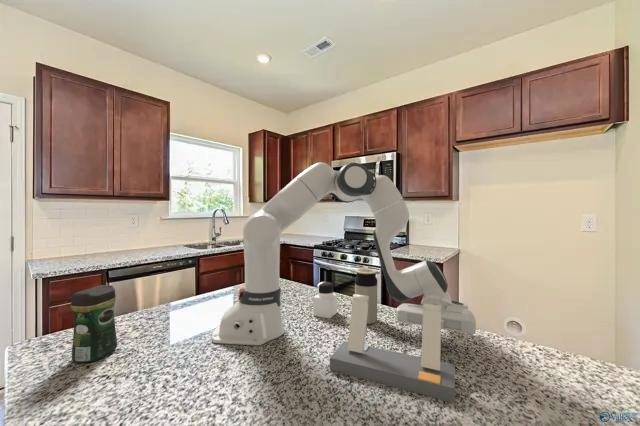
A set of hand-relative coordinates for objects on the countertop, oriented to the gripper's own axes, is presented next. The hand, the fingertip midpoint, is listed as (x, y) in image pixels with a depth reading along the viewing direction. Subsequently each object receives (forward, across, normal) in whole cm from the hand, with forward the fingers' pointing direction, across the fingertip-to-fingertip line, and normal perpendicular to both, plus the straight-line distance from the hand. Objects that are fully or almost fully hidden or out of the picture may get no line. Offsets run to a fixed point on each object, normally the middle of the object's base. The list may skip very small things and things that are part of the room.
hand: (432, 328), depth 72 cm
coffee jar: (+33, -84, +10) cm, 91 cm away
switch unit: (+8, -9, +10) cm, 15 cm away
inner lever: (+8, -18, +6) cm, 20 cm away
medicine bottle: (-21, -39, +10) cm, 46 cm away
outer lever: (+8, 0, +6) cm, 10 cm away
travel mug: (-22, -24, +10) cm, 34 cm away
